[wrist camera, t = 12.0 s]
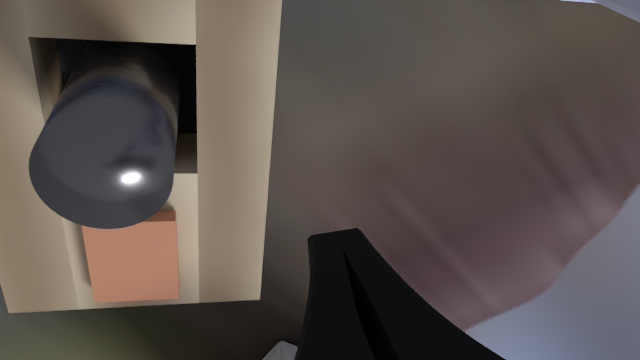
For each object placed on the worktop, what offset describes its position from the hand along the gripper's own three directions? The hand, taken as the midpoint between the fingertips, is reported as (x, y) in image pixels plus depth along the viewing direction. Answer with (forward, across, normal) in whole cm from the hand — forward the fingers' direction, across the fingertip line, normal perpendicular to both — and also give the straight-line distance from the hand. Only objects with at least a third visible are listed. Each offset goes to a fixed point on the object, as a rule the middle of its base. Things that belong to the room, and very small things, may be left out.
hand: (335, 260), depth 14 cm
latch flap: (+6, +7, +4) cm, 10 cm away
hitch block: (+9, +6, 0) cm, 11 cm away
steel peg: (+9, +6, -2) cm, 11 cm away
